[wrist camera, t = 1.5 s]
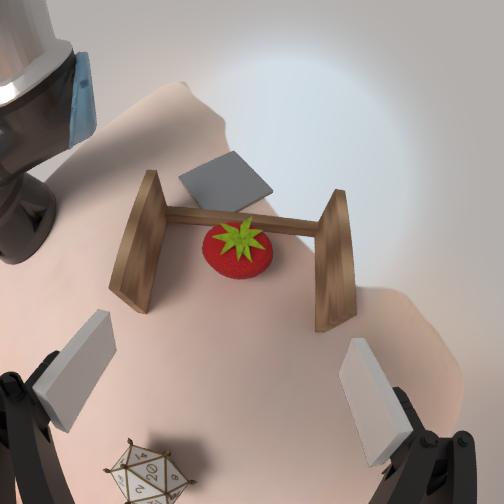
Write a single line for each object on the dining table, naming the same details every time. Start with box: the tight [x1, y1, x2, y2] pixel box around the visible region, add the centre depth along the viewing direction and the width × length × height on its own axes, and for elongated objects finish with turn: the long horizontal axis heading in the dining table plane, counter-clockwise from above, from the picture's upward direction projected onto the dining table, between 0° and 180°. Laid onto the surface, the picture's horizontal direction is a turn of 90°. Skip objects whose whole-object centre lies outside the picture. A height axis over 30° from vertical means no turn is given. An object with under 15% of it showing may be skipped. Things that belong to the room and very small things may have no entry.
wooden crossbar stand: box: [109, 170, 357, 332], centre depth 30 cm, size 14×22×9 cm, turn 86°
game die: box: [103, 438, 197, 504], centre depth 18 cm, size 9×8×10 cm
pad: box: [179, 151, 273, 212], centre depth 39 cm, size 10×10×1 cm
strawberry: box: [202, 216, 273, 279], centre depth 29 cm, size 6×8×10 cm
